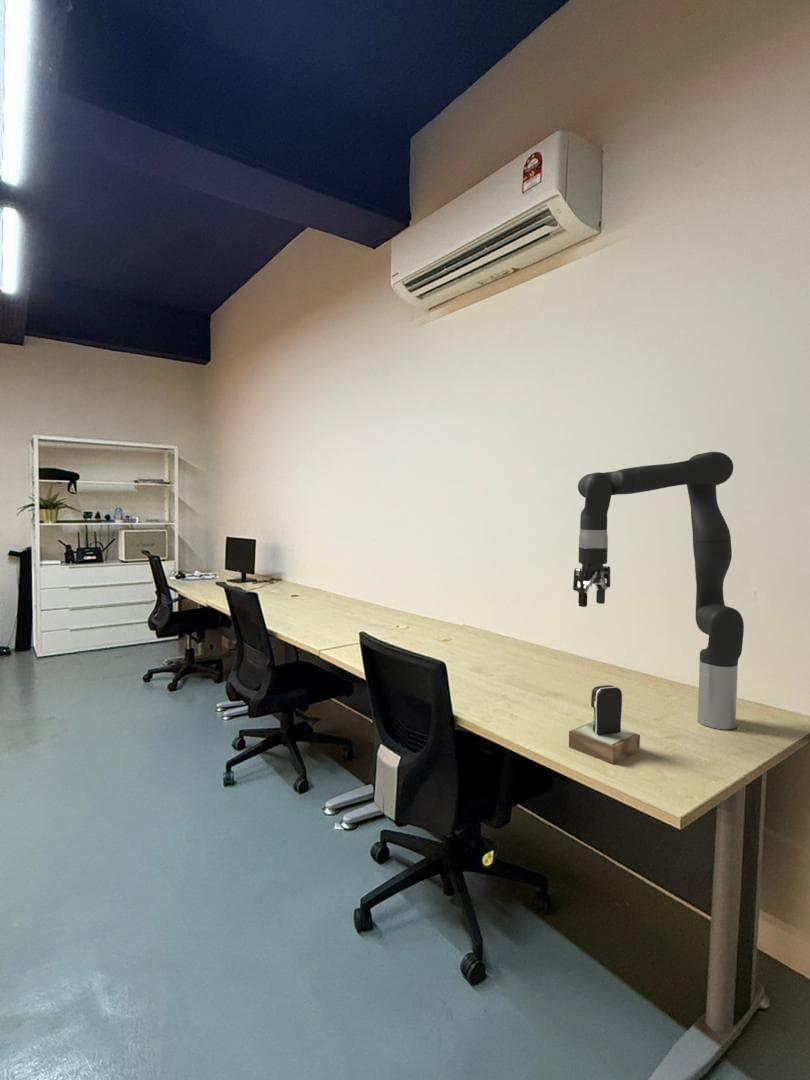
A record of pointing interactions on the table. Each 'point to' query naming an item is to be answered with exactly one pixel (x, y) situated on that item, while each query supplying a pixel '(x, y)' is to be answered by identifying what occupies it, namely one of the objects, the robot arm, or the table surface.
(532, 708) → the table surface
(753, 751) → the table surface
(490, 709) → the table surface
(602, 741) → the base
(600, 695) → the battery
